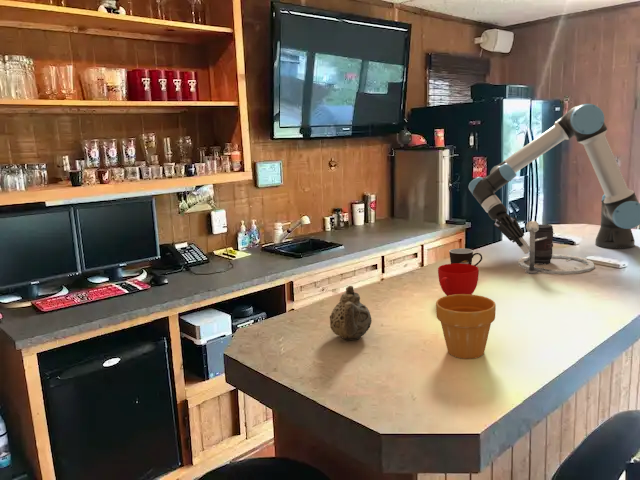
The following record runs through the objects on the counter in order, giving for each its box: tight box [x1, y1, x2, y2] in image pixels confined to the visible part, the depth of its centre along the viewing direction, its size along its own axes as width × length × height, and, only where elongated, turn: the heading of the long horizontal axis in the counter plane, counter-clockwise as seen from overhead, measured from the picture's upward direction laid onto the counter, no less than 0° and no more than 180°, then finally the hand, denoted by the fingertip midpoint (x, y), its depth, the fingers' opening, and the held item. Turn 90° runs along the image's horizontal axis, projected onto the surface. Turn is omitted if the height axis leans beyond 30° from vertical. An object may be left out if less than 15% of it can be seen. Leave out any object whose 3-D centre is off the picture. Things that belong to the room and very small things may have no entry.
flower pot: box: [435, 294, 497, 360], centre depth 131 cm, size 14×14×13 cm
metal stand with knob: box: [524, 220, 547, 275], centre depth 199 cm, size 11×4×20 cm, turn 125°
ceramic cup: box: [437, 263, 480, 296], centre depth 173 cm, size 13×17×10 cm
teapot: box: [329, 285, 373, 340], centre depth 144 cm, size 21×12×15 cm, turn 178°
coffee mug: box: [448, 247, 483, 267], centre depth 197 cm, size 12×9×10 cm
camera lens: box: [534, 224, 554, 265], centre depth 211 cm, size 8×8×15 cm
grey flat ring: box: [517, 253, 595, 275], centre depth 207 cm, size 27×27×1 cm
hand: (528, 251), depth 216 cm, fingers closed
